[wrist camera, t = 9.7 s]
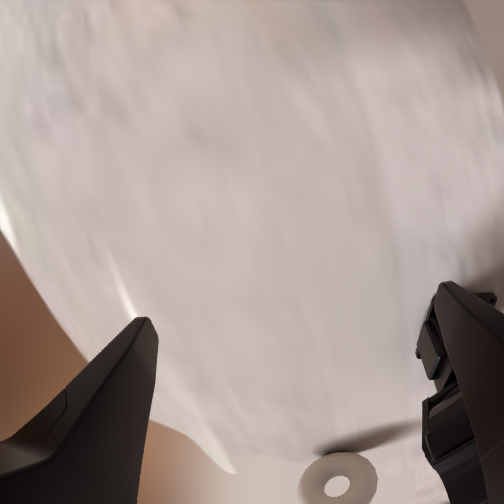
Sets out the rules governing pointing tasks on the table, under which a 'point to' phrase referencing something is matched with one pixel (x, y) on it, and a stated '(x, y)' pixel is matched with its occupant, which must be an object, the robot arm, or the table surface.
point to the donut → (334, 465)
